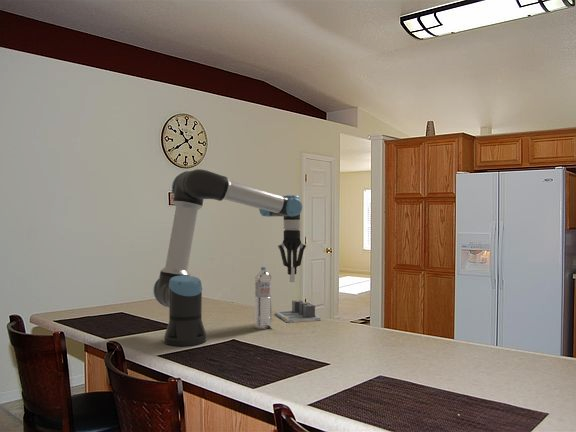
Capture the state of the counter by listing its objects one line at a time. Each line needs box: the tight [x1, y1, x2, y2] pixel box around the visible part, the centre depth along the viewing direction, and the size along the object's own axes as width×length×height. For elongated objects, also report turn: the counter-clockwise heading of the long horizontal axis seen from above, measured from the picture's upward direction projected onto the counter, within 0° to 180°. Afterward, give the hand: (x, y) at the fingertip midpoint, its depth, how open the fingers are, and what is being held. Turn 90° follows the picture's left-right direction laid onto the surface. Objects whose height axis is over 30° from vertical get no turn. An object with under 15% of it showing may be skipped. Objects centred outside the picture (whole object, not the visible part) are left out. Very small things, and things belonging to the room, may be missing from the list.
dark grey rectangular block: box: [303, 303, 316, 318], centre depth 215 cm, size 4×4×6 cm
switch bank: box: [274, 310, 321, 323], centre depth 220 cm, size 19×15×3 cm
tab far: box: [291, 299, 304, 313], centre depth 227 cm, size 4×4×6 cm
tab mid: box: [299, 301, 311, 315], centre depth 221 cm, size 4×4×6 cm
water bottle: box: [254, 266, 273, 330], centre depth 205 cm, size 7×7×25 cm
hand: (292, 281), depth 224 cm, fingers closed
